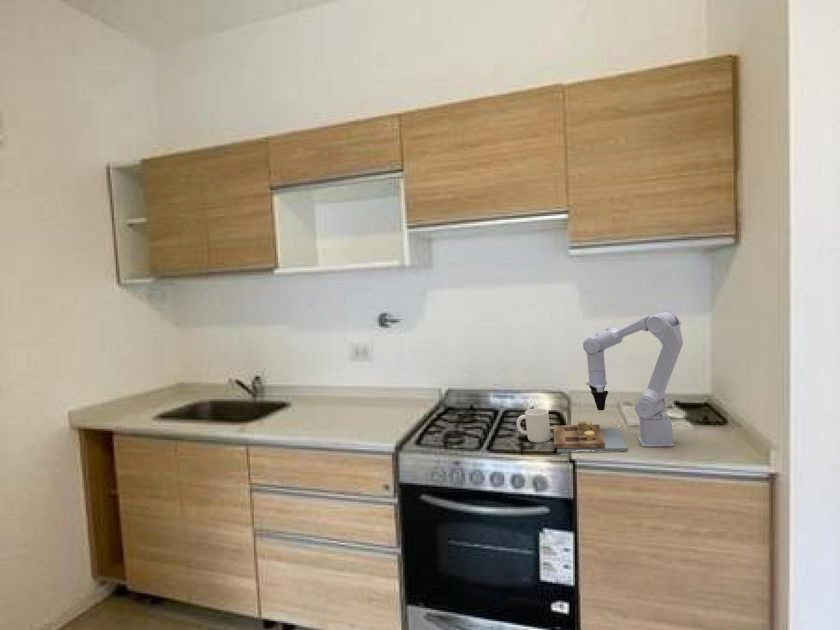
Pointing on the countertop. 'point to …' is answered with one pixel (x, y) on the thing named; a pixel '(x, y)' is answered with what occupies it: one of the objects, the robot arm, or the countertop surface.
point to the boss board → (611, 440)
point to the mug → (536, 425)
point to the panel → (577, 436)
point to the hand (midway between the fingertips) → (599, 407)
